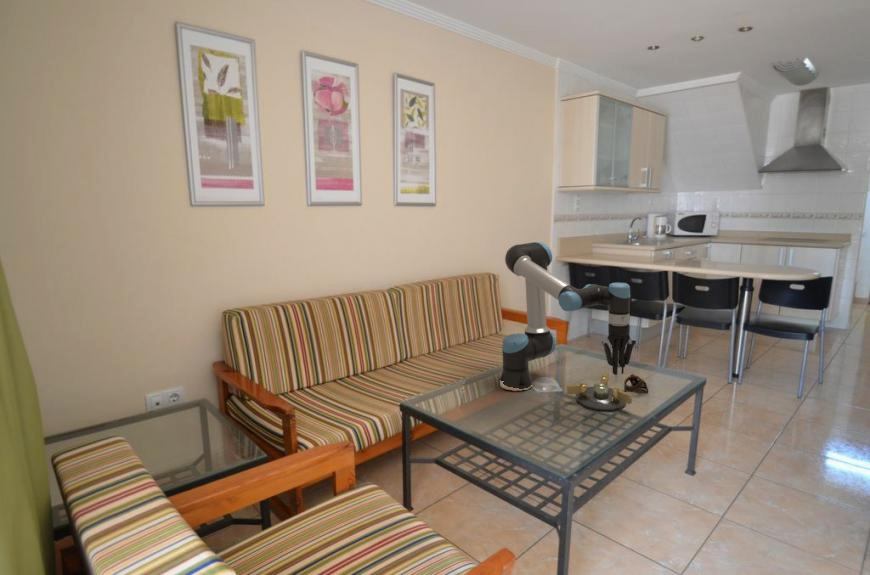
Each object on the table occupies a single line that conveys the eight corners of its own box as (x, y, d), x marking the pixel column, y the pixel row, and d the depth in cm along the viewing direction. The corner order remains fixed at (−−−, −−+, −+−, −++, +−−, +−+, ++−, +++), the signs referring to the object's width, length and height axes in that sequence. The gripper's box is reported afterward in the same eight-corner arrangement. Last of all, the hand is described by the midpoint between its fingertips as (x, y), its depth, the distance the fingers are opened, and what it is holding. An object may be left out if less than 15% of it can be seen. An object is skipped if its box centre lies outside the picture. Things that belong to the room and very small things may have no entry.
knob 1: (585, 394, 201) (585, 383, 200) (587, 397, 198) (587, 386, 197) (566, 395, 201) (566, 384, 200) (568, 398, 198) (568, 387, 197)
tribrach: (571, 406, 196) (571, 389, 195) (581, 387, 213) (581, 372, 212) (622, 415, 187) (623, 397, 185) (629, 395, 204) (629, 379, 202)
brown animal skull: (653, 397, 202) (646, 383, 199) (631, 405, 205) (624, 391, 202) (643, 379, 213) (637, 366, 210) (623, 387, 215) (616, 374, 212)
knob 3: (610, 400, 194) (611, 389, 193) (615, 399, 195) (615, 387, 194) (628, 408, 187) (628, 396, 186) (632, 406, 188) (633, 394, 187)
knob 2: (606, 390, 204) (607, 379, 203) (600, 389, 205) (600, 378, 204) (609, 382, 211) (610, 372, 210) (603, 382, 212) (603, 371, 211)
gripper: (607, 327, 177) (606, 387, 181) (640, 324, 178) (638, 383, 183) (598, 322, 184) (597, 379, 189) (630, 319, 185) (628, 376, 190)
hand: (617, 381), depth 186 cm, fingers closed
